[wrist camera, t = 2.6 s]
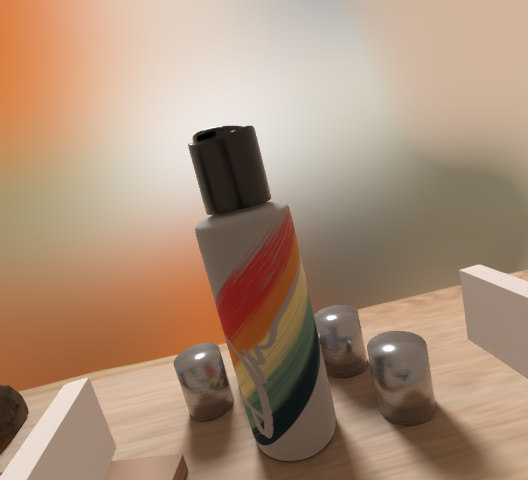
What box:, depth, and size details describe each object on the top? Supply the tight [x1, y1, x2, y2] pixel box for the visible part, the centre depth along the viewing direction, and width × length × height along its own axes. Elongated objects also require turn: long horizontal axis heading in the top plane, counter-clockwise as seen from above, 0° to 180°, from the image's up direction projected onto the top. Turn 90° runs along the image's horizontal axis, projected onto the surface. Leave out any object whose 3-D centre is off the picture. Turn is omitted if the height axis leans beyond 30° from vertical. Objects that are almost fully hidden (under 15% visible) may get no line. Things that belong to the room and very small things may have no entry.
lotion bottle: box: [188, 126, 336, 461], centre depth 22 cm, size 6×6×20 cm
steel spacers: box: [174, 305, 436, 425], centre depth 28 cm, size 18×12×4 cm, turn 83°
